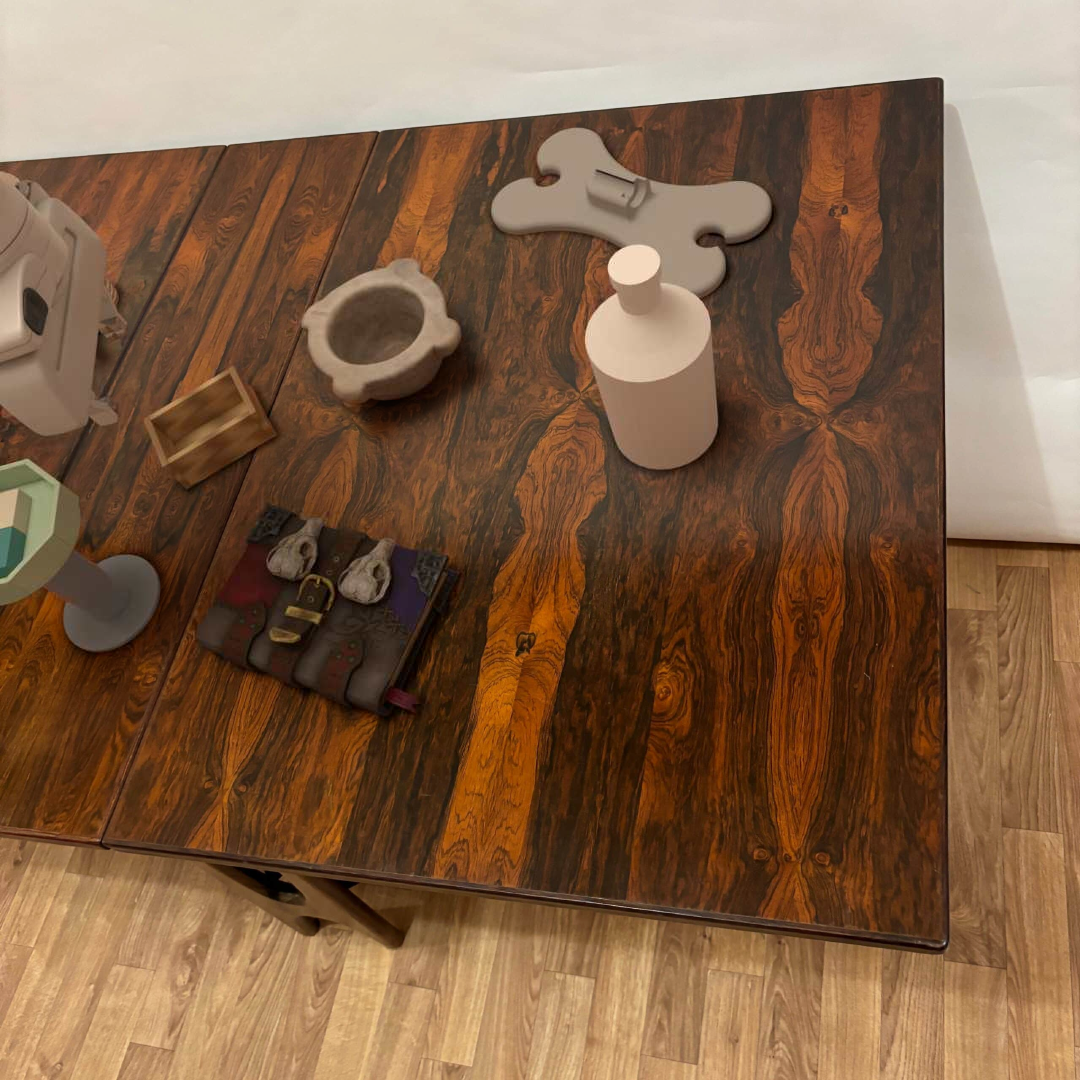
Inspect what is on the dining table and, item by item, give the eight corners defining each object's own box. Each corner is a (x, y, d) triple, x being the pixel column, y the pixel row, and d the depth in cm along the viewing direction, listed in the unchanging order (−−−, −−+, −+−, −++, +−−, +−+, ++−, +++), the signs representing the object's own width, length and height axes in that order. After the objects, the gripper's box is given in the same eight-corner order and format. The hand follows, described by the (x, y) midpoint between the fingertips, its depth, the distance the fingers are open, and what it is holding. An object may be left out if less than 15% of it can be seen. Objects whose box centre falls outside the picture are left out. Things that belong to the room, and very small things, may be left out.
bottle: (702, 369, 104) (680, 196, 83) (735, 454, 98) (721, 291, 77) (600, 402, 105) (553, 239, 84) (627, 487, 99) (583, 336, 78)
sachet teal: (-7, 582, 91) (-22, 573, 90) (-1, 542, 94) (-15, 533, 92) (20, 575, 91) (5, 566, 89) (26, 536, 93) (12, 526, 91)
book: (205, 654, 102) (167, 628, 95) (286, 516, 108) (255, 484, 102) (408, 737, 92) (380, 715, 86) (484, 581, 98) (463, 549, 92)
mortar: (489, 384, 110) (466, 333, 102) (361, 449, 110) (329, 404, 102) (439, 295, 119) (415, 242, 111) (321, 356, 118) (288, 307, 111)
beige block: (0, 542, 94) (-15, 532, 92) (6, 504, 96) (-8, 494, 94) (26, 535, 93) (12, 525, 92) (32, 497, 95) (18, 487, 94)
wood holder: (188, 491, 113) (162, 467, 108) (169, 444, 117) (143, 419, 113) (278, 437, 114) (256, 411, 109) (255, 392, 118) (233, 365, 113)
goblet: (53, 674, 105) (-87, 606, 88) (67, 565, 112) (-61, 482, 95) (168, 647, 103) (47, 571, 86) (174, 537, 110) (64, 448, 93)
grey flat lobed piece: (565, 130, 128) (557, 99, 123) (786, 204, 112) (786, 171, 108) (480, 225, 123) (469, 195, 119) (698, 315, 108) (695, 285, 103)
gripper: (-16, 178, 74) (93, 296, 86) (-61, 376, 64) (70, 478, 76) (55, 155, 74) (156, 278, 85) (21, 353, 64) (141, 460, 75)
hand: (115, 374), depth 81 cm, fingers open, 8 cm apart
